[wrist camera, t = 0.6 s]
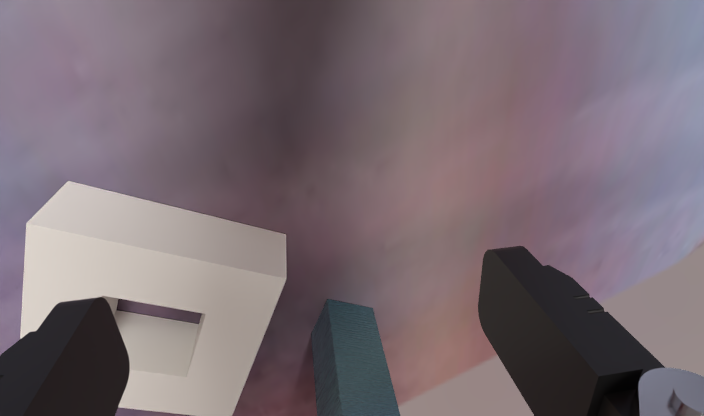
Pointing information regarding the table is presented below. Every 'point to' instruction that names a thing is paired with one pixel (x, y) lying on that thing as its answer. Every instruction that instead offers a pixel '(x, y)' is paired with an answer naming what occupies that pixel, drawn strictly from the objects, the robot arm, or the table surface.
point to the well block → (159, 290)
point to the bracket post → (350, 363)
